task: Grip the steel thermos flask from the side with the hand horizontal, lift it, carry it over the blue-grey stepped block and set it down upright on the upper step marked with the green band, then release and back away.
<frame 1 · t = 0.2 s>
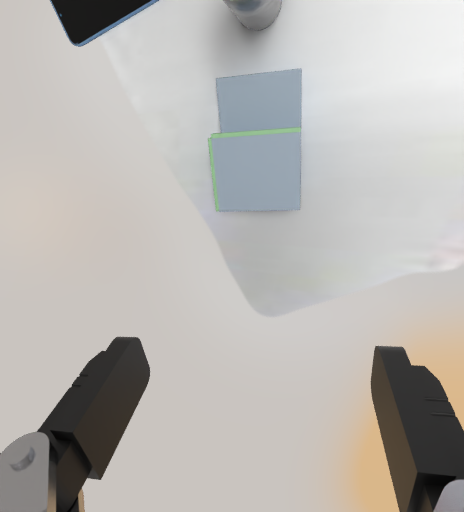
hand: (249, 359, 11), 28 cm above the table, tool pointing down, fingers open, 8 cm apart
blue-grey stepped block: (264, 147, 35), on the table
steel thermos flask: (258, 1, 29), on the table
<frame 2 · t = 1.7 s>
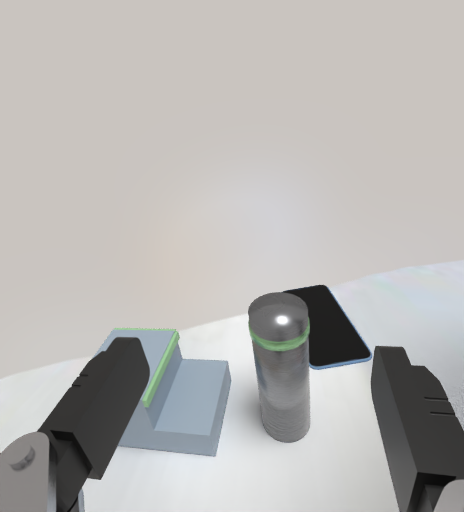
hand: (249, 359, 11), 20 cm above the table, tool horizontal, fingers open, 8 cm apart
blue-grey stepped block: (158, 409, 32), on the table
steel thermos flask: (286, 419, 29), on the table
smartphone: (319, 324, 41), on the table
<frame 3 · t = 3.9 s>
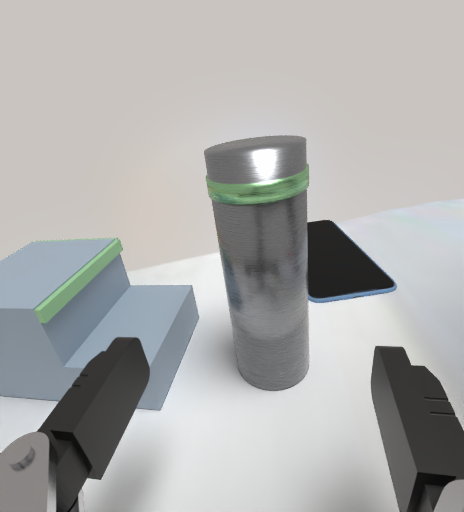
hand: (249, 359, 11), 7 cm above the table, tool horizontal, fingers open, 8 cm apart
blue-grey stepped block: (91, 351, 22), on the table
steel thermos flask: (272, 360, 20), on the table
smartphone: (323, 258, 31), on the table
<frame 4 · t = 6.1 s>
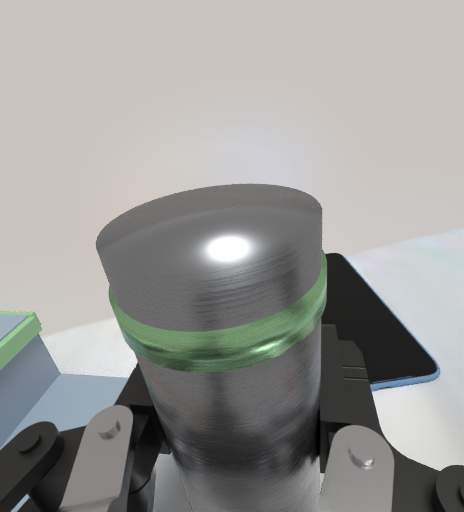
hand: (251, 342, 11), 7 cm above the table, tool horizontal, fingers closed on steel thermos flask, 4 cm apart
smartphone: (332, 312, 24), on the table
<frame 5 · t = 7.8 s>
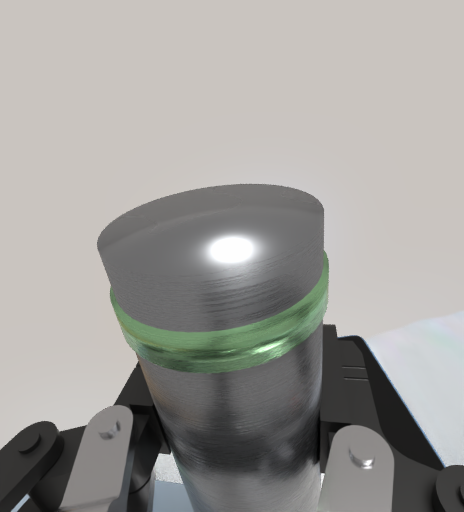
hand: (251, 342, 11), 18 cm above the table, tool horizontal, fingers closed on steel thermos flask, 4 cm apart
smartphone: (357, 402, 28), on the table
when the fingers open (15 cm above the table, at t = 9.4 s): steel thermos flask stays where it is, resting on blue-grey stepped block.
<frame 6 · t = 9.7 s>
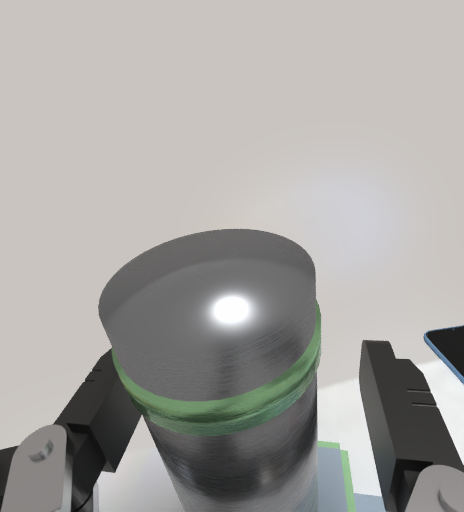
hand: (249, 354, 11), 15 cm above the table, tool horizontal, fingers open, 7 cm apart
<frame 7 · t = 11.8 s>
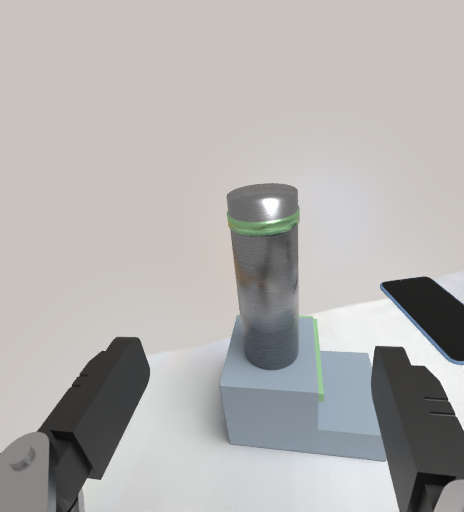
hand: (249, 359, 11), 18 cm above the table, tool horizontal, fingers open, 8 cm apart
blue-grey stepped block: (291, 406, 28), on the table
steel thermos flask: (271, 348, 25), point 7 cm above the table, touching blue-grey stepped block
smartphone: (437, 317, 37), on the table
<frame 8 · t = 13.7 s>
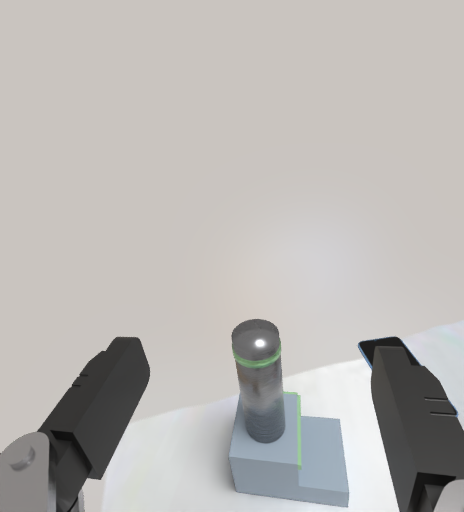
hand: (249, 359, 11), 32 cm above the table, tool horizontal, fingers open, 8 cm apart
blue-grey stepped block: (282, 460, 38), on the table
steel thermos flask: (265, 423, 35), point 7 cm above the table, touching blue-grey stepped block
smartphone: (401, 377, 47), on the table
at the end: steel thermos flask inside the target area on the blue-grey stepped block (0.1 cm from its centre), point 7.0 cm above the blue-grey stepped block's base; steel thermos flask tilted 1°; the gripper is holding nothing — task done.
